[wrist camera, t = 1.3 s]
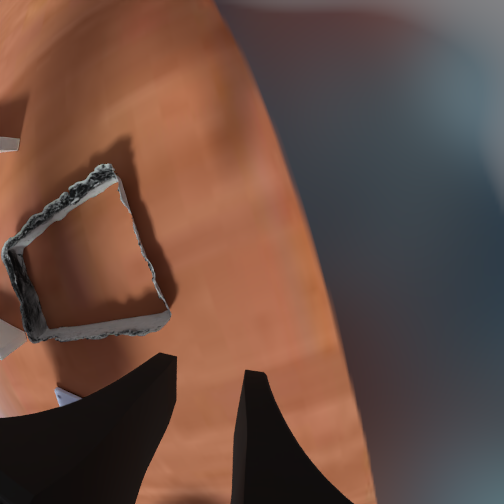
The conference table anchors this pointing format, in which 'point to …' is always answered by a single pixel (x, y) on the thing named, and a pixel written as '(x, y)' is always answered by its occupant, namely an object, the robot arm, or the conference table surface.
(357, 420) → the conference table surface
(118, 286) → the conference table surface
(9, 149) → the box
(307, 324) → the conference table surface
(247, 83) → the conference table surface
